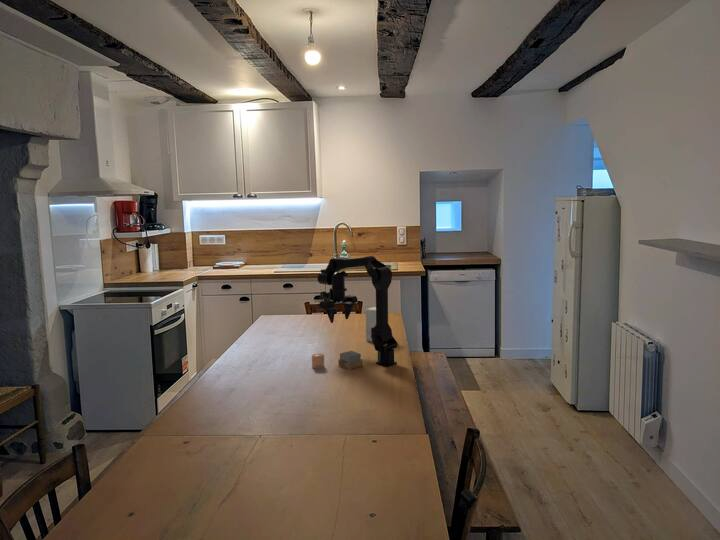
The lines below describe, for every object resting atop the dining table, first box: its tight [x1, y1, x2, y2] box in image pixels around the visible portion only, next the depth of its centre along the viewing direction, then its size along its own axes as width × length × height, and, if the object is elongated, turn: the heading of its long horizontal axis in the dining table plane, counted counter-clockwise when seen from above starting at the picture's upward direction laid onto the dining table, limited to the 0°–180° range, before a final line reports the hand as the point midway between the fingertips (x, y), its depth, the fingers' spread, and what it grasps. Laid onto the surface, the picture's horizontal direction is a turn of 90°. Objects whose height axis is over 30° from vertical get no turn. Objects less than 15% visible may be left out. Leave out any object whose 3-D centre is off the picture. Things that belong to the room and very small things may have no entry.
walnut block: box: [337, 358, 364, 371], centre depth 221 cm, size 7×7×3 cm
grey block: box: [339, 350, 362, 363], centre depth 220 cm, size 6×6×2 cm
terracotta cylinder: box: [311, 353, 325, 370], centre depth 220 cm, size 5×5×5 cm
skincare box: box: [365, 306, 376, 343], centre depth 259 cm, size 8×7×16 cm
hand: (339, 321), depth 239 cm, fingers open, 9 cm apart
